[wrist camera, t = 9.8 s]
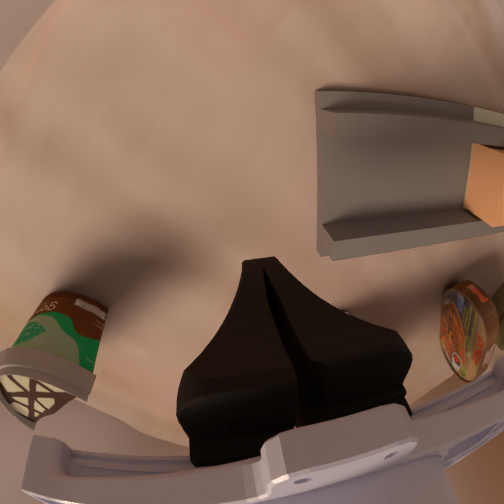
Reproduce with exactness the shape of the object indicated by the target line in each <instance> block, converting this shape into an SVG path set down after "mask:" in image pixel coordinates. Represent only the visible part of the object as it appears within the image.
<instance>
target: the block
mask: <svg viewBox="0 0 504 504" xmlns="http://www.w3.org/2000/svg"><path fill="white" fill-rule="evenodd" d="M464 208H466V209H467V210H469V211H470V212H472V213H473V214H475V215H476V216H478V217H479V218H480V219H482V220H483V221H485V222H486V223H487V224H489V225H490V226H491V227H498V226H504V147H499V146H492V145H483V144H474V143H473V146H472V155H471V164H470V171H469V178H468V185H467V191H466V197H465V202H464Z"/></svg>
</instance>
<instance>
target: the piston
mask: <svg viewBox="0 0 504 504" xmlns="http://www.w3.org/2000/svg"><path fill="white" fill-rule="evenodd" d="M492 301H493V303H494V305H495V307H496V309H497V312H498V316H499V321H500V331H499V335H498V338H497V341H496V344H497V346H498V347H499V348H500V350H504V283H503V284H502V285H501V286H500V288H499V289H498V290H497V292H496V293H495V294H494V296H493V297H492Z"/></svg>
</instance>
